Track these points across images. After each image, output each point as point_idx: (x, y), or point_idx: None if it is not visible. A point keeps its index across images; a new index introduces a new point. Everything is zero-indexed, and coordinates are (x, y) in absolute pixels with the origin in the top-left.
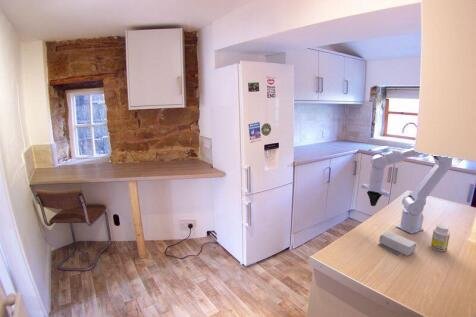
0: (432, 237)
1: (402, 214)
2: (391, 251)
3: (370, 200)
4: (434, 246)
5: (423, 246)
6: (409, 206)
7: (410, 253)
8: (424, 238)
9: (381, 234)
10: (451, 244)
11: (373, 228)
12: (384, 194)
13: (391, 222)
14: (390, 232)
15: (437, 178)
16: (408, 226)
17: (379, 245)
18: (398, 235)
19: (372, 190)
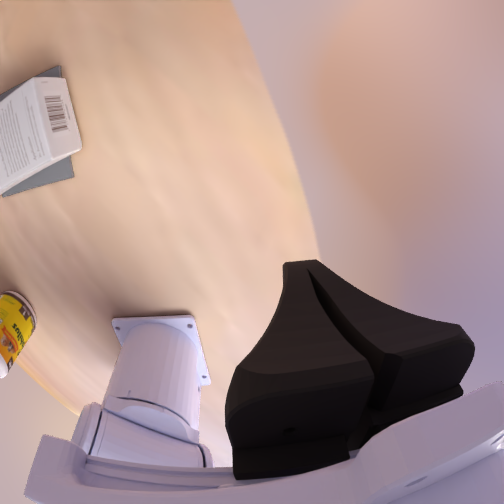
0: (6, 322)
1: (164, 387)
2: (5, 93)
3: (339, 286)
4: (4, 295)
5: (24, 272)
6: (80, 438)
7: None
8: (77, 330)
9: (30, 82)
10: (46, 362)
11: (218, 176)
12: (114, 479)
13: (241, 330)
14: (33, 161)
15: None
16: (129, 342)
17: (54, 67)
18: (6, 184)
19: (357, 481)
